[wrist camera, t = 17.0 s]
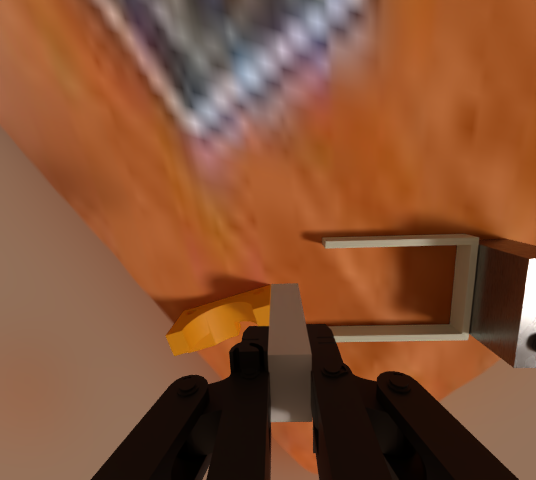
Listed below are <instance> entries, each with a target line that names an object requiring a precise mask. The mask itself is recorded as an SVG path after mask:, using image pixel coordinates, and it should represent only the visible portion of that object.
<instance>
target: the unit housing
mask: <svg viewBox="0 0 536 480" xmlns="http://www.w3.org/2000/svg"><path fill="white" fill-rule="evenodd" d="M469 334H470V335H472V336H473V337H474V338H476V339H477V340H478V341H479V342H481V343H482V344H483V345H485V346H486V347H487V348H489V349H490V350H491V351H492V352H494V353H495V354H496V355H498V356H499V357H500V358H502V359H503V360H504V361H506V362H507V363H508V364H509V365H511V366H512V367H513V368H536V246H534V245H530V244H526V243H522V242H517V241H513V240H509V239H493V240H479V245H478V254H477V264H476V273H475V282H474V291H473V300H472V309H471V319H470V328H469Z"/></svg>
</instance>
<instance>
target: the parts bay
mask: <svg viewBox="0 0 536 480" xmlns="http://www.w3.org/2000/svg"><path fill="white" fill-rule="evenodd" d="M322 245H323V246H324V247H325V248H358V247H398V246H437V245H457V252H456V262H455V273H454V283H453V294H452V304H451V315H450V324H432V325H373V326H328V327H329V328H330V329H331V330H332V332H333V335H334V338H335V341H336V342H378V341H443V340H468V337H469V328H470V319H471V309H472V300H473V291H474V282H475V273H476V264H477V254H478V245H479V237H476V236H472V235H468V234H437V235H399V236H361V237H323V238H322Z"/></svg>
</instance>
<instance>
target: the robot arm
mask: <svg viewBox="0 0 536 480" xmlns="http://www.w3.org/2000/svg"><path fill="white" fill-rule="evenodd" d="M229 355H230V368H231V374H230V376H229V377H228V378H226V379H224V380H222V381H219V382H215V383H212V384H208V382H207V380H206V379H205V378H204V377H202V376H199V375H189V376H184V377H181V378H179V379H177V380H176V381H174V382H173V383H172V384H171V385H170V386H169V387H168V388H167V390H166V391H165V392H164V393H163V394H162V395H161V397H160V398H159V399H158V400H157V402H156V403H155V404H154V405H153V406H152V407H151V409H150V410H149V411H148V412H147V413H146V415H145V416H144V417H143V418H142V419H141V421H140V422H139V423H138V424H137V425H136V426H135V428H134V429H133V430H132V431H131V432H130V434H129V435H128V436H127V437H126V439H125V440H124V441H123V442H122V443H121V444H120V445H119V447H118V448H117V449H116V450H115V451H114V453H113V454H112V455H111V456H110V457H109V459H108V460H107V461H106V462H105V463H104V464H103V466H102V467H101V468H100V469H99V471H98V472H97V473H96V474H95V475H94V476H93V478H92V479H91V480H202V479H203V477H204V475H205V473H206V471H207V469H208V467H209V470H208V475H207V479H206V480H270V472H271V471H270V470H271V422H312V418H313V453H316V459H317V467H318V474H319V480H519V479H518V478H516V476H515V475H514V474H512V473H511V471H509V470H508V469H507V468H506V467H505V466H504V465H503V464H502V463H501V462H500V461H499V460H498V459H497V458H496V457H495V456H494V455H493V454H492V453H491V452H490V451H489V450H488V449H487V448H485V446H484V445H482V444H481V443H480V442H479V441H478V440H477V439H476V438H475V437H474V436H473V435H472V434H471V433H470V432H469V431H468V430H467V429H466V428H465V427H464V426H463V425H461V423H460V422H459V421H458V420H457V419H455V418H454V417H453V416H452V415H451V414H450V413H449V412H448V411H447V410H446V409H445V408H444V407H443V406H442V405H441V404H440V403H439V402H438V401H437V400H436V399H435V398H434V397H433V396H432V395H431V394H430V393H429V392H427V391H426V390H425V389H424V388H423V387H422V386H421V385H420V384H419V383H418V382H417V381H416V380H414V379H413V378H412V377H410V376H408V375H406V374H403V373H400V372H395V371H389V372H384V373H381V374H380V375H379V376H378V377H377V382H376V381H372V380H367V379H363V378H360V377H357V376H355V375H353V374H352V371H351V370H350V368H349V367H348V366H347V365H346V364H344V363H343V360H342V358H341V355H340V352H339V349H338V346H337V344H336V341H335V338H334V335H333V332H332V330H331V329H330V328H329V327H328V326H327V325H326V324H306V323H305V318H304V312H303V307H302V302H301V297H300V292H299V287H298V284H271V300H270V319H269V326H249V327H248V328H247V329H246V330H245V331H244V332H243V337H242V342H241V343H238V344H236V345H235V346H233V347H232V348H231V350H230V351H229ZM209 465H210V466H209Z"/></svg>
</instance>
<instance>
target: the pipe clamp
mask: <svg viewBox="0 0 536 480" xmlns="http://www.w3.org/2000/svg"><path fill="white" fill-rule="evenodd" d="M270 300H271V285H267V286H264V287H261V288H257V289H254V290H251V291H248V292H244V293H241V294H238V295H234V296H231V297H228V298H225V299H221V300H218V301H215V302H211V303H208V304H205V305H201V306H198V307H195V308H192V309H188V310H185V311H183V312H182V314H181V315H180V317H179V318H178V319H177V321H176V322H175V323H174V325H173V326H172V328H171V329H170V330H169V332H168V333H167V334H166V338H167V340H168V343H169V345H170V347H171V350H172V352H173V354H174V356H176V355H180V354H183V353H187V352H188V353H191V352H194V351H197V350H201V349H204V348H208V347H211V346H215V345H217V344H218V343H220V342H222V341H224V340H226V339H229V338H231V337H234V336H238V335H239V332H240V328H241V325H240V323H239V322H241V321H250V322H254V323H256V324H258V326H269V319H270Z"/></svg>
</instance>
